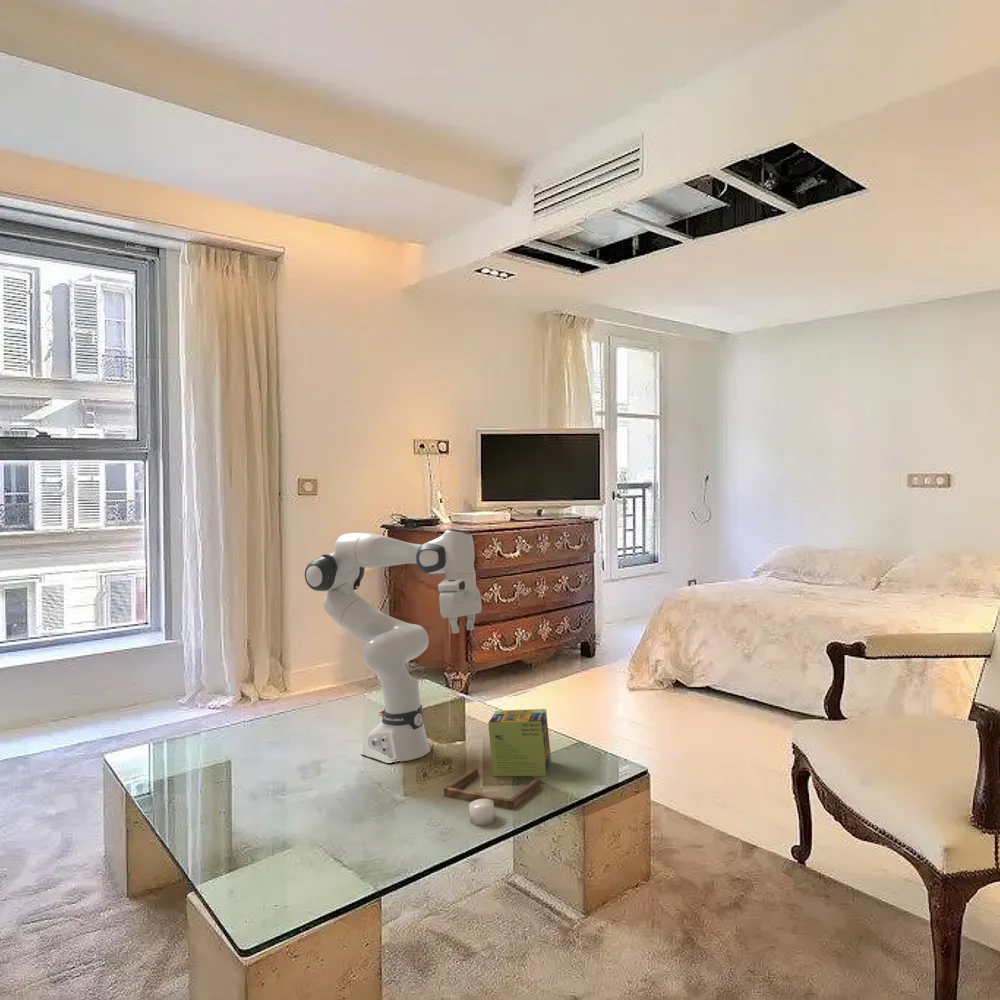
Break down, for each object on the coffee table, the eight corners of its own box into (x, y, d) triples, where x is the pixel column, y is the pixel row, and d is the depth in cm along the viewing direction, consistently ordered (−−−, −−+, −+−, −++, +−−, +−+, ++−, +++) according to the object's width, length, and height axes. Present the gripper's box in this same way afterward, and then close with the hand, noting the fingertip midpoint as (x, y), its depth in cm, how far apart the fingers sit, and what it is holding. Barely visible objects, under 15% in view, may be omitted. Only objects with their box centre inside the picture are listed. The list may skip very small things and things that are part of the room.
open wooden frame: (444, 795, 196) (443, 788, 196) (475, 775, 208) (474, 768, 208) (512, 809, 184) (511, 801, 184) (540, 786, 196) (539, 779, 196)
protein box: (547, 776, 202) (541, 720, 202) (492, 777, 205) (487, 722, 205) (552, 761, 212) (547, 708, 212) (500, 762, 216) (495, 709, 215)
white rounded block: (465, 823, 179) (464, 807, 179) (479, 812, 184) (478, 797, 184) (486, 827, 176) (484, 811, 176) (499, 816, 181) (498, 801, 181)
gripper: (467, 582, 226) (469, 628, 225) (434, 585, 208) (436, 635, 206) (485, 582, 224) (487, 628, 223) (454, 584, 205) (456, 635, 204)
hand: (463, 631), depth 214 cm, fingers open, 8 cm apart
